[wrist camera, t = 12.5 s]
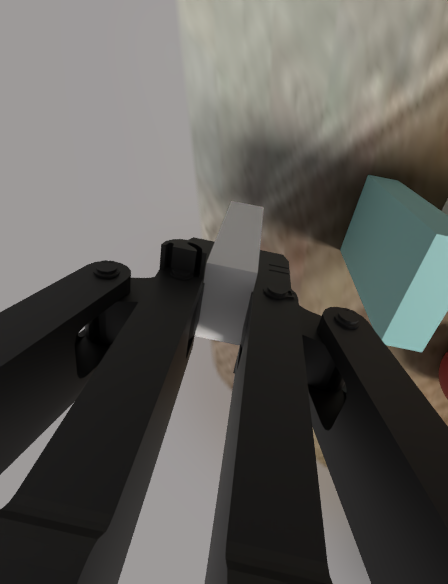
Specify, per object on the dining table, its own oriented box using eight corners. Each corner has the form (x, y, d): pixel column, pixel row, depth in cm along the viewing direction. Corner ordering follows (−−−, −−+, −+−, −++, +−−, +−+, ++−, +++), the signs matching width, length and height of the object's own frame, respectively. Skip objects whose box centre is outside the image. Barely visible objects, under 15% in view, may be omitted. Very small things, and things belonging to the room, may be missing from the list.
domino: (340, 250, 23) (379, 343, 14) (368, 174, 20) (436, 234, 12) (366, 255, 23) (421, 352, 14) (397, 180, 20) (488, 244, 12)
